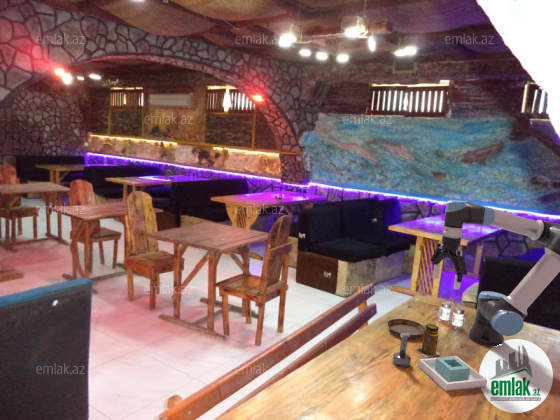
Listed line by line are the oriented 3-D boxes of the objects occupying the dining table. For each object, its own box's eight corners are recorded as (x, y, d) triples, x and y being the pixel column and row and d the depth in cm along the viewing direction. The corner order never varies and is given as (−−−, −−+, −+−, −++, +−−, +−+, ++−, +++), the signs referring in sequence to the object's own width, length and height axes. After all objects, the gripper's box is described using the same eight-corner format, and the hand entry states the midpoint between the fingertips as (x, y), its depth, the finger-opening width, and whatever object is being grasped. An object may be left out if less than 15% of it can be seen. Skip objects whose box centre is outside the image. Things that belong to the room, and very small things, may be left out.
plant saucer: (381, 332, 210) (382, 326, 209) (393, 320, 225) (393, 315, 224) (419, 344, 201) (419, 338, 200) (428, 331, 216) (429, 325, 215)
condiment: (440, 354, 193) (444, 328, 191) (427, 358, 188) (431, 331, 186) (426, 346, 199) (430, 321, 197) (413, 350, 194) (417, 324, 192)
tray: (455, 362, 186) (456, 356, 186) (486, 387, 169) (487, 379, 169) (418, 366, 181) (419, 359, 180) (445, 391, 164) (447, 384, 163)
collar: (453, 367, 181) (455, 356, 180) (468, 380, 172) (470, 368, 171) (434, 369, 178) (436, 358, 177) (448, 382, 169) (450, 370, 169)
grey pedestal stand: (404, 358, 186) (408, 329, 184) (413, 367, 180) (417, 337, 177) (389, 359, 184) (393, 330, 182) (398, 368, 178) (402, 338, 175)
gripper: (426, 229, 201) (420, 274, 204) (465, 244, 177) (458, 294, 181) (439, 229, 203) (434, 273, 207) (480, 243, 180) (473, 293, 184)
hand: (445, 283), depth 194 cm, fingers open, 13 cm apart
